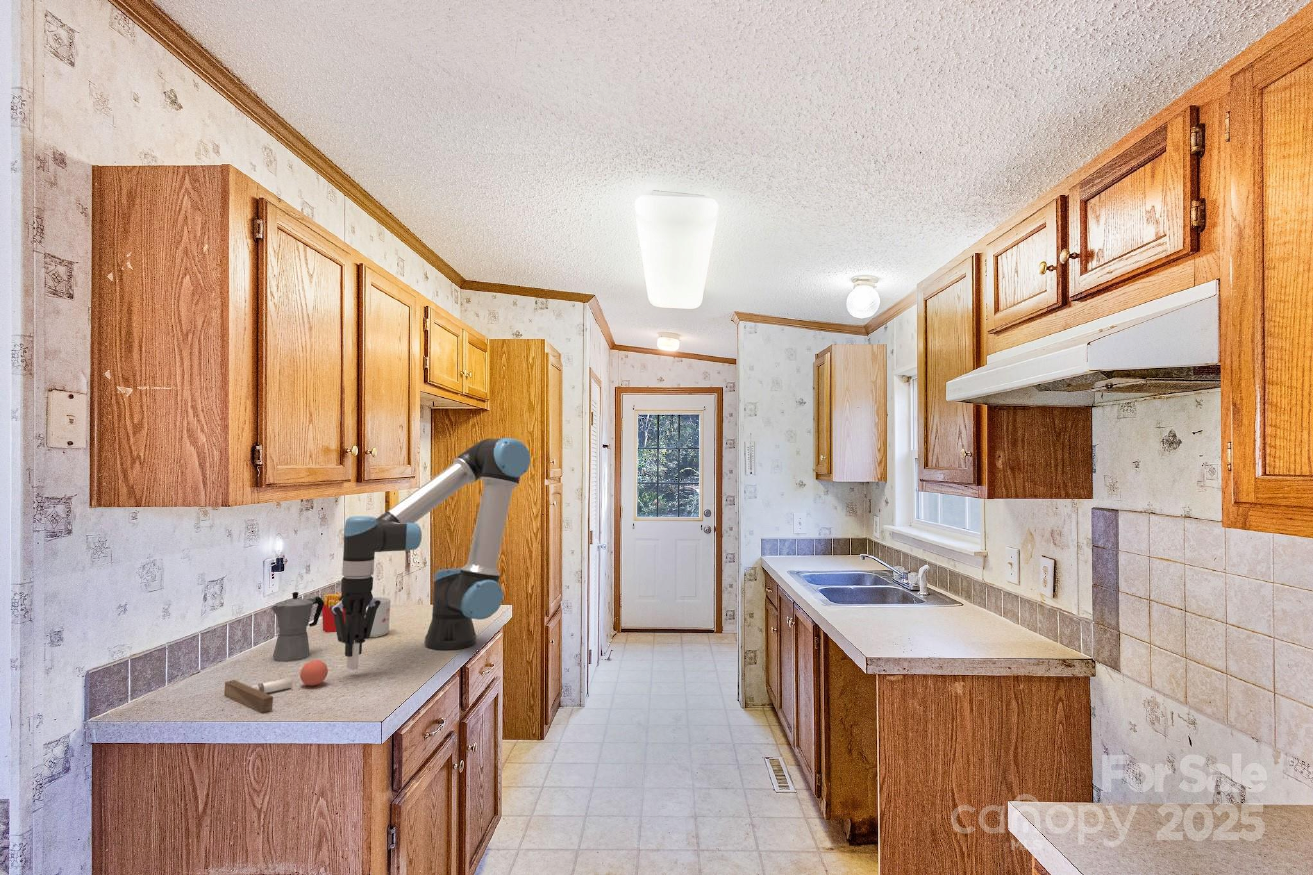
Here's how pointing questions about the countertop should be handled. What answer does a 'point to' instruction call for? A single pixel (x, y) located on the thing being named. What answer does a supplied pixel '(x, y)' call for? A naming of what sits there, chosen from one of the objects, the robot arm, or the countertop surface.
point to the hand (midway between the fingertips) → (352, 668)
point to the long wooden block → (248, 696)
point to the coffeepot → (294, 627)
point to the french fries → (327, 614)
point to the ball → (313, 672)
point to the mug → (381, 617)
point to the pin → (274, 685)
